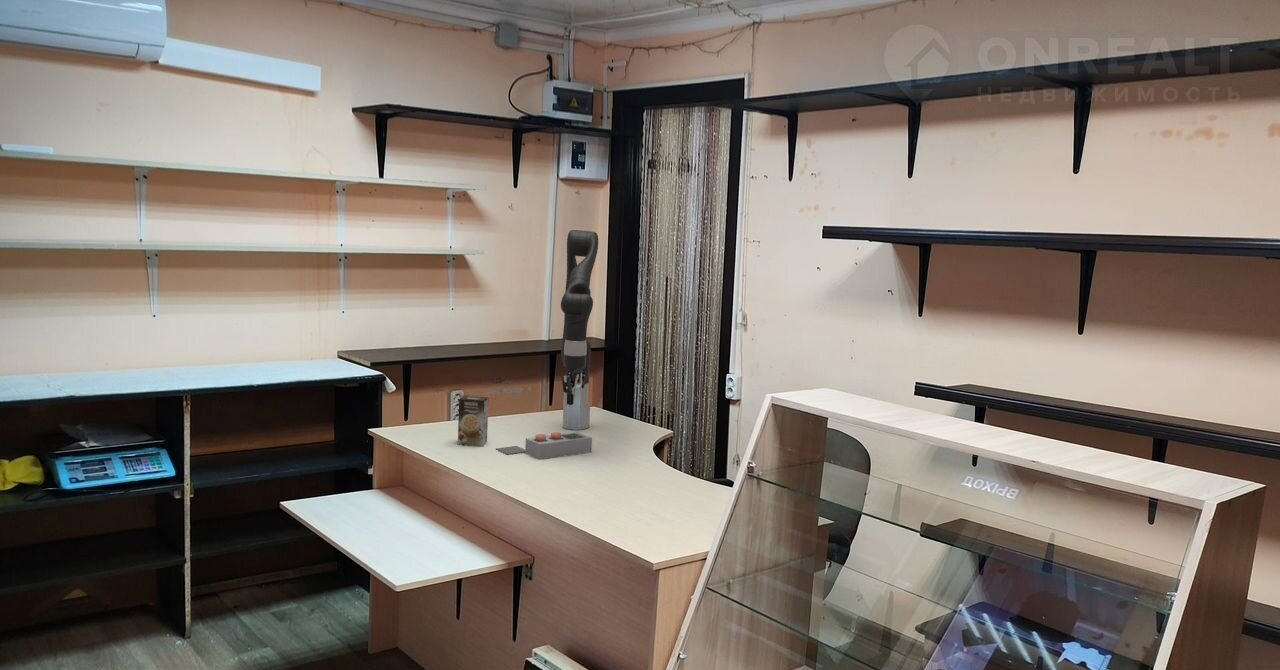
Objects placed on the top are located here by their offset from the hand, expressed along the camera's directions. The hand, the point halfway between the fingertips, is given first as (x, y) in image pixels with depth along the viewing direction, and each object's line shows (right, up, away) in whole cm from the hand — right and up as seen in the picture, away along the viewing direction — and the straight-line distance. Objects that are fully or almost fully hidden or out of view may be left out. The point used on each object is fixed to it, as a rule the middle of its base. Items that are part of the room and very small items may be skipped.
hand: (573, 403), depth 312 cm
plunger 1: (-11, -16, -6) cm, 20 cm away
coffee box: (-35, -15, +6) cm, 38 cm away
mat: (-20, -16, -2) cm, 26 cm away
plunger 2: (-6, -15, -2) cm, 17 cm away
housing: (-5, -17, -1) cm, 17 cm away
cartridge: (0, -8, +1) cm, 8 cm away
